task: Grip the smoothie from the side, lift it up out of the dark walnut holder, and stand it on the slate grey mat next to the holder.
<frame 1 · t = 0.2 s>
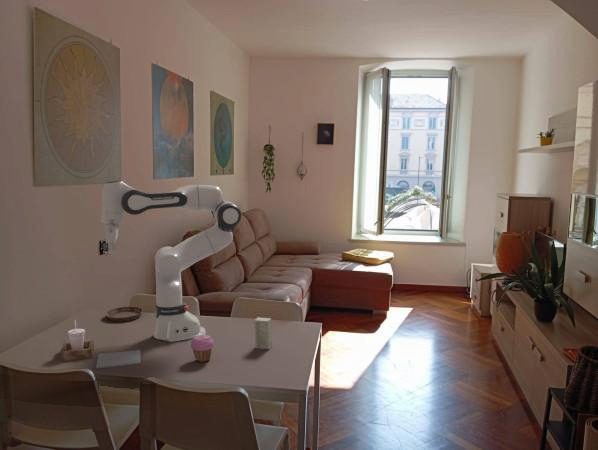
hand: (111, 251, 222), 39 cm above the table, tool pointing down, fingers open, 8 cm apart
plant saucer: (124, 317, 261), on the table
smoothie: (77, 354, 210), resting in walnut holder
skincare box: (263, 347, 219), on the table
walnut holder: (77, 354, 210), on the table
slate mat: (119, 359, 205), on the table
cupcake: (202, 360, 204), on the table
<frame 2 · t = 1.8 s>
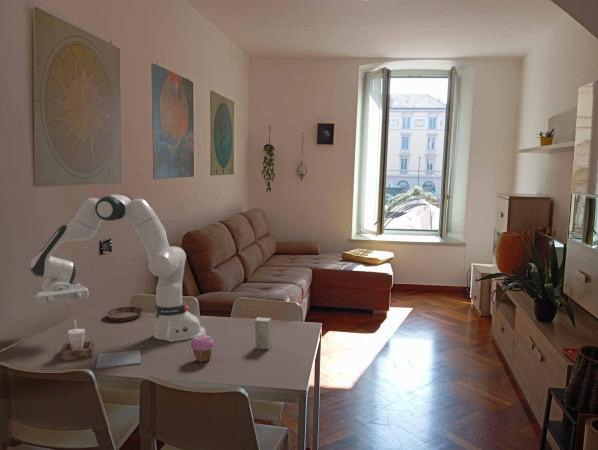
hand: (67, 299, 218), 20 cm above the table, tool horizontal, fingers open, 8 cm apart
nothing on the table moved.
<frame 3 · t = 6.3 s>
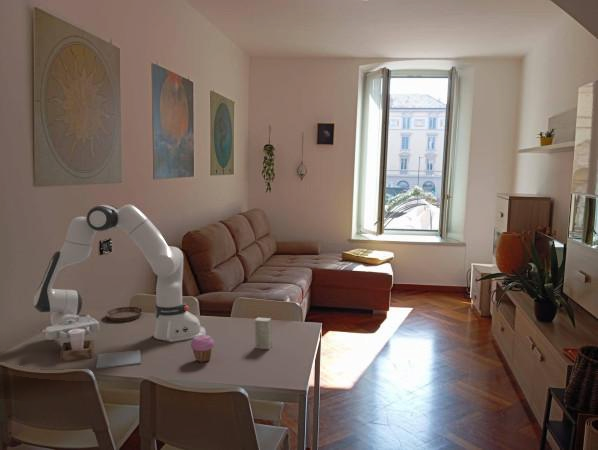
hand: (77, 334, 209), 9 cm above the table, tool horizontal, fingers closed on smoothie, 6 cm apart
smoothie: (77, 354, 210), resting in walnut holder, touching gripper
everything else where it was.
when the fingers open (11 cm above the table, at t = 11.6 s): smoothie drops 1 cm, resting on slate mat.
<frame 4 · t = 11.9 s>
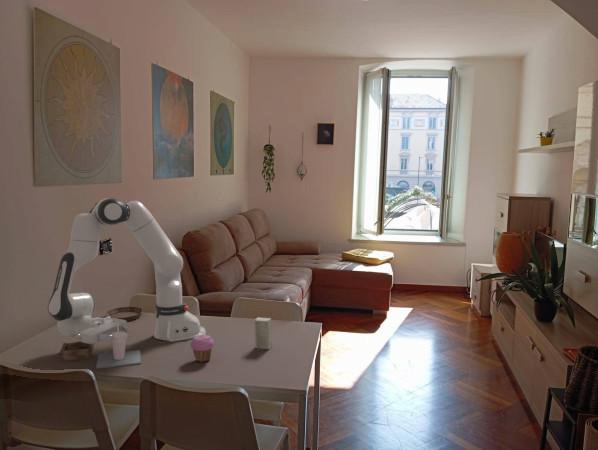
hand: (119, 333, 203), 11 cm above the table, tool horizontal, fingers open, 8 cm apart
smoothie: (118, 358, 205), resting on slate mat
everything else where it was.
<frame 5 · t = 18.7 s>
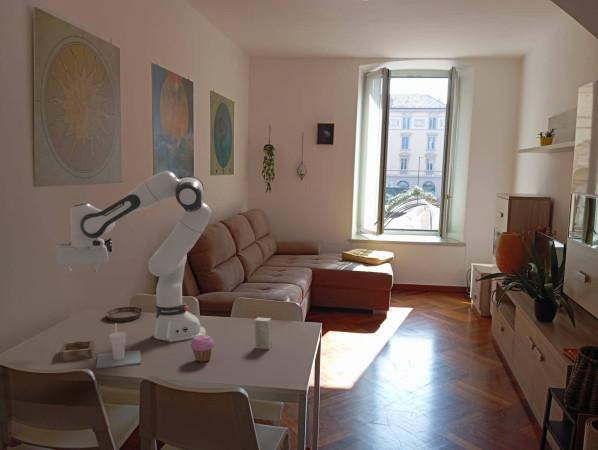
hand: (83, 273, 225), 29 cm above the table, tool pointing down, fingers open, 8 cm apart
nothing on the table moved.
at the end: smoothie inside the target area on the slate mat (0.1 cm from its centre), point 0.4 cm above the slate mat's base; smoothie tilted 0°; the gripper is holding nothing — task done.
